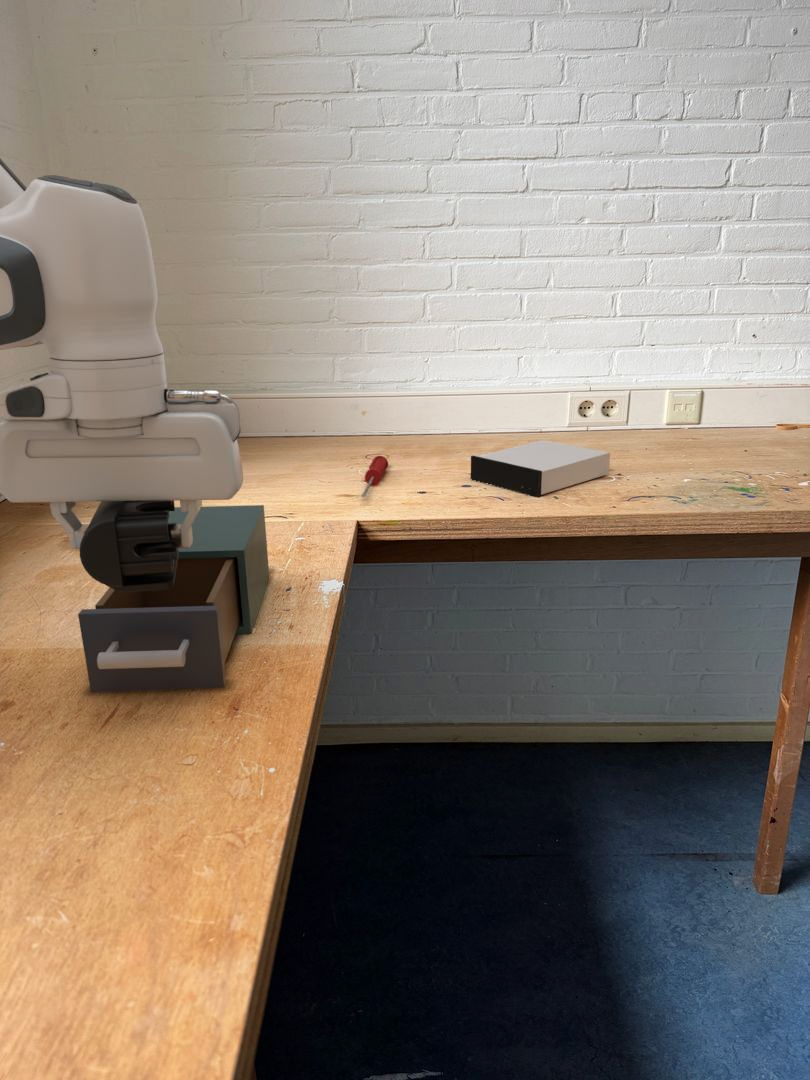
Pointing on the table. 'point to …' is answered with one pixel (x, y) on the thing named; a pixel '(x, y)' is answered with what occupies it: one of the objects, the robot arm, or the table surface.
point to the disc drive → (539, 467)
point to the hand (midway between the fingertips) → (132, 546)
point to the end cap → (131, 546)
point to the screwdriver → (375, 472)
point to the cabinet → (233, 550)
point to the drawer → (165, 631)
